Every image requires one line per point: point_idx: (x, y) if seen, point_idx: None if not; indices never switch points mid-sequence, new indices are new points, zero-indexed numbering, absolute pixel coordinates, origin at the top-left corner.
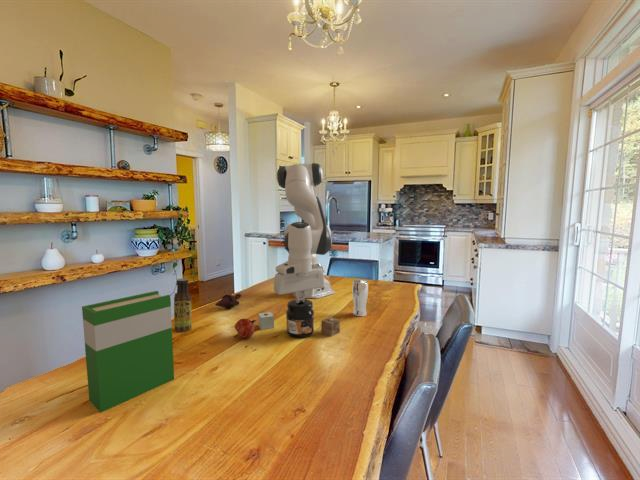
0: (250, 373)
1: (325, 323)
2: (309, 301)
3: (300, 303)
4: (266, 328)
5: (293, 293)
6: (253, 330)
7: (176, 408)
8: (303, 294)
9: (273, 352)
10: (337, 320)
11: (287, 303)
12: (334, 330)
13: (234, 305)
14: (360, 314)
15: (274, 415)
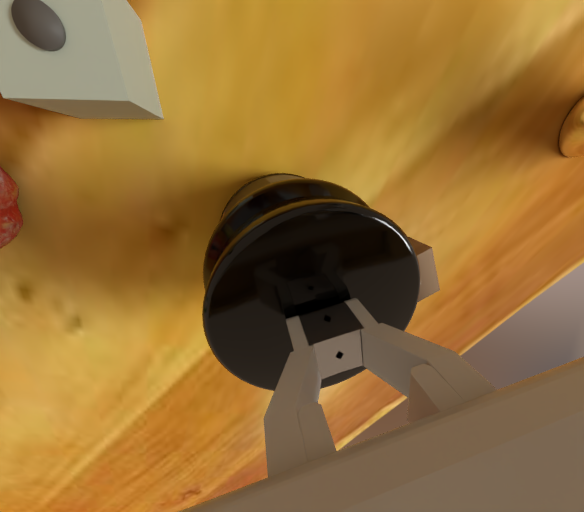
0: (84, 427)
1: None
2: (401, 307)
3: None
4: (112, 117)
5: (270, 440)
6: (5, 239)
7: None
8: (397, 375)
9: (152, 347)
10: (429, 292)
11: (204, 297)
12: None
13: None
14: (574, 153)
15: (149, 502)
